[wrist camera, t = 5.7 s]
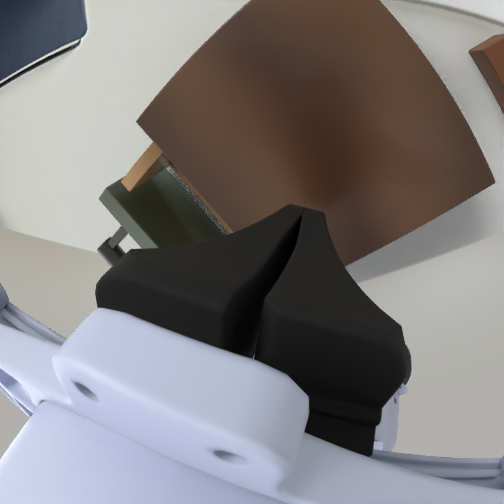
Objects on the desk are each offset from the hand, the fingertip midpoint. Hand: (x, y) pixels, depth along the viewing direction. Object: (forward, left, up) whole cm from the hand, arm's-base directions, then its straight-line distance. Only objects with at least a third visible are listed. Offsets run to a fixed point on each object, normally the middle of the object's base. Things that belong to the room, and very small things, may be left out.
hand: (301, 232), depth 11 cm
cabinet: (+2, -2, -9) cm, 10 cm away
